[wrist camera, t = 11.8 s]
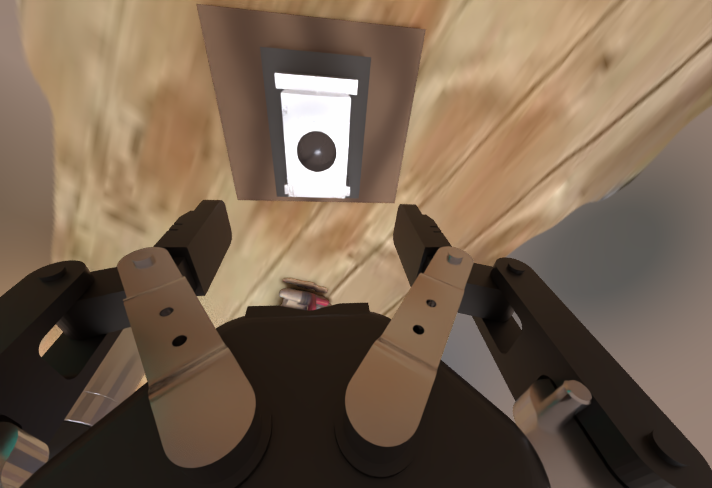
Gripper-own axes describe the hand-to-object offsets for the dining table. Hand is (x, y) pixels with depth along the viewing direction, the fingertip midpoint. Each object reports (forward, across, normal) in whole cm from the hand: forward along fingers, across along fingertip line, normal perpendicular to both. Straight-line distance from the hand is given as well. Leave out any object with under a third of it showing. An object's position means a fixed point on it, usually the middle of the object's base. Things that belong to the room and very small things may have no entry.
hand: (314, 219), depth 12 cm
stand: (+21, 0, 0) cm, 21 cm away
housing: (+16, 0, 0) cm, 16 cm away
